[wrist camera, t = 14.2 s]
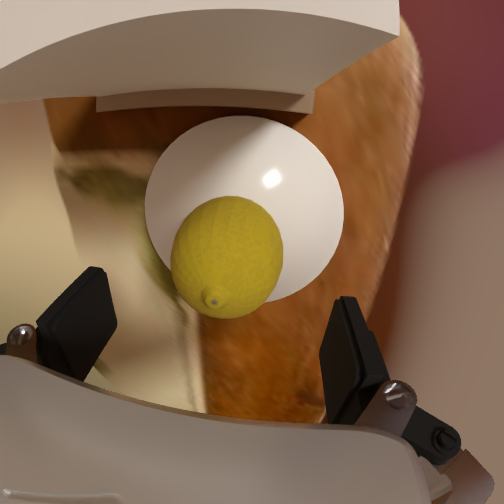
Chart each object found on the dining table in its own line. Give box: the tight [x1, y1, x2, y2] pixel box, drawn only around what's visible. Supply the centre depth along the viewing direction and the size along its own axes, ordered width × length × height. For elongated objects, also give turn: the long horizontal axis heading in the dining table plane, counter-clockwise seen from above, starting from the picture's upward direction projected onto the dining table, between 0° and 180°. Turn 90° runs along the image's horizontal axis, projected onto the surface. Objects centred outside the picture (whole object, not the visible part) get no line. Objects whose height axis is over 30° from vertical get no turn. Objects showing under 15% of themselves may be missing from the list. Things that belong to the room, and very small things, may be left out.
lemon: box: [170, 196, 283, 319], centre depth 14 cm, size 6×6×8 cm
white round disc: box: [145, 116, 344, 302], centre depth 18 cm, size 13×13×1 cm
